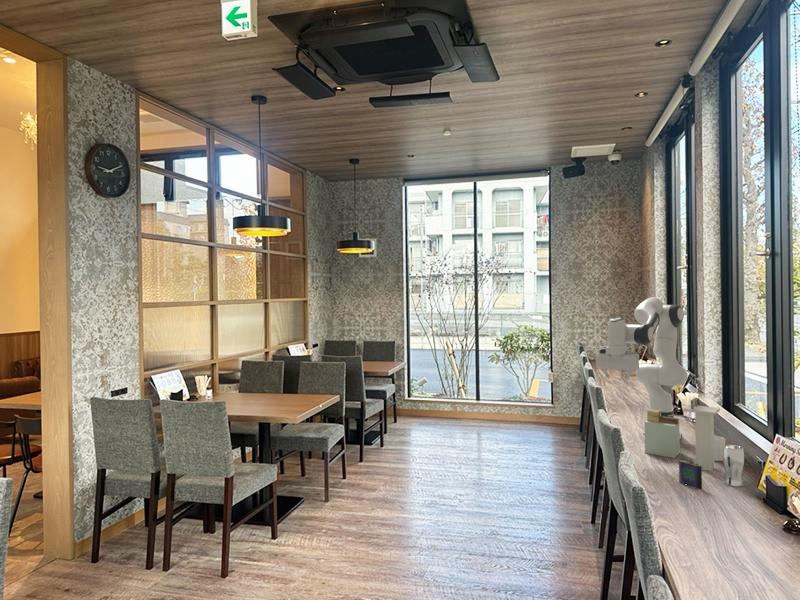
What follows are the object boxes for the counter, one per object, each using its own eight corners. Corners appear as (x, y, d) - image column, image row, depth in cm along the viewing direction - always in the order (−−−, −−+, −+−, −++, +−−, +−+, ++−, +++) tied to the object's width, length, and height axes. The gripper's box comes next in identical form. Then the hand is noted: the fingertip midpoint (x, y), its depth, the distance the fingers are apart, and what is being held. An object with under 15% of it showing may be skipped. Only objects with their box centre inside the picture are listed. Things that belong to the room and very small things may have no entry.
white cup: (703, 459, 243) (703, 437, 243) (707, 455, 248) (707, 434, 249) (723, 462, 237) (723, 440, 237) (727, 458, 243) (726, 437, 243)
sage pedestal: (650, 448, 261) (650, 418, 261) (679, 453, 253) (679, 422, 253) (644, 452, 253) (644, 421, 254) (674, 457, 245) (674, 425, 245)
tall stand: (690, 461, 239) (689, 396, 239) (720, 467, 231) (720, 399, 231) (684, 468, 230) (683, 400, 230) (715, 473, 222) (714, 403, 222)
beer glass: (726, 480, 214) (725, 443, 214) (746, 484, 209) (745, 446, 209) (721, 484, 209) (721, 446, 209) (741, 488, 204) (741, 450, 204)
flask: (677, 482, 212) (677, 455, 212) (682, 481, 213) (682, 455, 213) (699, 489, 204) (699, 462, 204) (704, 488, 205) (704, 461, 205)
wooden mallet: (650, 419, 259) (650, 409, 259) (679, 423, 250) (679, 412, 250) (647, 421, 255) (647, 410, 255) (676, 425, 247) (676, 414, 247)
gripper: (641, 351, 256) (641, 379, 256) (598, 349, 269) (599, 376, 269) (637, 352, 251) (637, 381, 251) (594, 350, 264) (594, 377, 264)
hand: (617, 378), depth 260 cm, fingers open, 8 cm apart
